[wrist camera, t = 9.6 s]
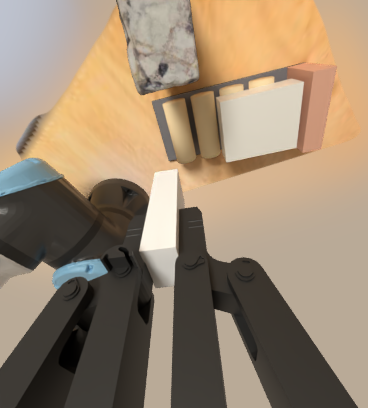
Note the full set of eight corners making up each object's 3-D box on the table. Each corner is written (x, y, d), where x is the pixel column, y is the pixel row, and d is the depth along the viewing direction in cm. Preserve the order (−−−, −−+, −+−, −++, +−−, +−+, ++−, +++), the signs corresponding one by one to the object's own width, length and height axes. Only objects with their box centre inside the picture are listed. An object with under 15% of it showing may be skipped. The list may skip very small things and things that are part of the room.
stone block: (195, 65, 35) (210, 79, 19) (156, 78, 36) (139, 102, 20) (171, -51, 27) (162, -196, 11) (123, -30, 28) (49, -135, 12)
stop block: (281, 135, 42) (302, 152, 35) (286, 67, 35) (313, 71, 28) (296, 131, 42) (320, 149, 35) (304, 62, 35) (336, 65, 28)
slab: (222, 153, 39) (226, 162, 36) (215, 97, 34) (219, 102, 30) (286, 139, 38) (296, 147, 35) (291, 78, 32) (304, 81, 29)
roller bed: (169, 159, 45) (168, 169, 41) (152, 101, 38) (149, 106, 34) (296, 131, 42) (307, 139, 38) (304, 62, 35) (319, 64, 31)
